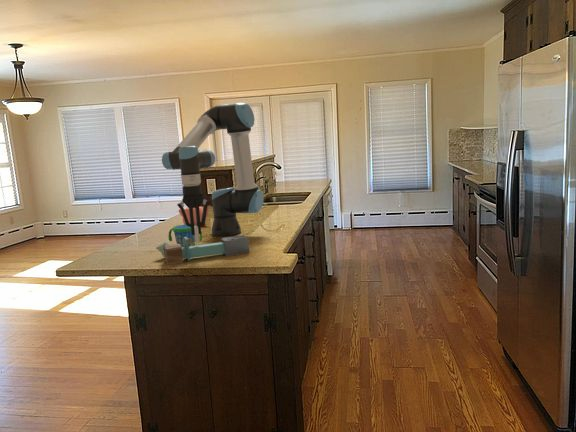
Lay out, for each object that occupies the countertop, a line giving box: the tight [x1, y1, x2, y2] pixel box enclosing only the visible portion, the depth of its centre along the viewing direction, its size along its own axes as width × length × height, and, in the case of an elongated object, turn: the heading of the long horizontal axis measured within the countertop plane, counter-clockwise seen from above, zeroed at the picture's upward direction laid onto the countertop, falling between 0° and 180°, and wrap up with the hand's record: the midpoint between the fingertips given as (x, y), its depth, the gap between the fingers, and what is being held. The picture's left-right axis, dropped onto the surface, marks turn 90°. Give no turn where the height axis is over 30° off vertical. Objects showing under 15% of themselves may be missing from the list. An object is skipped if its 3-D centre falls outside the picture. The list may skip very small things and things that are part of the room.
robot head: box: [155, 241, 172, 258], centre depth 193 cm, size 8×4×7 cm, turn 83°
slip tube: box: [182, 237, 225, 262], centre depth 189 cm, size 6×24×9 cm, turn 110°
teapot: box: [178, 204, 212, 226], centre depth 268 cm, size 13×20×12 cm, turn 80°
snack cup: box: [168, 224, 203, 247], centre depth 209 cm, size 16×10×10 cm
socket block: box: [164, 243, 184, 265], centre depth 186 cm, size 7×6×6 cm
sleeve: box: [220, 235, 250, 257], centre depth 194 cm, size 7×10×6 cm, turn 110°
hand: (197, 242), depth 189 cm, fingers closed
